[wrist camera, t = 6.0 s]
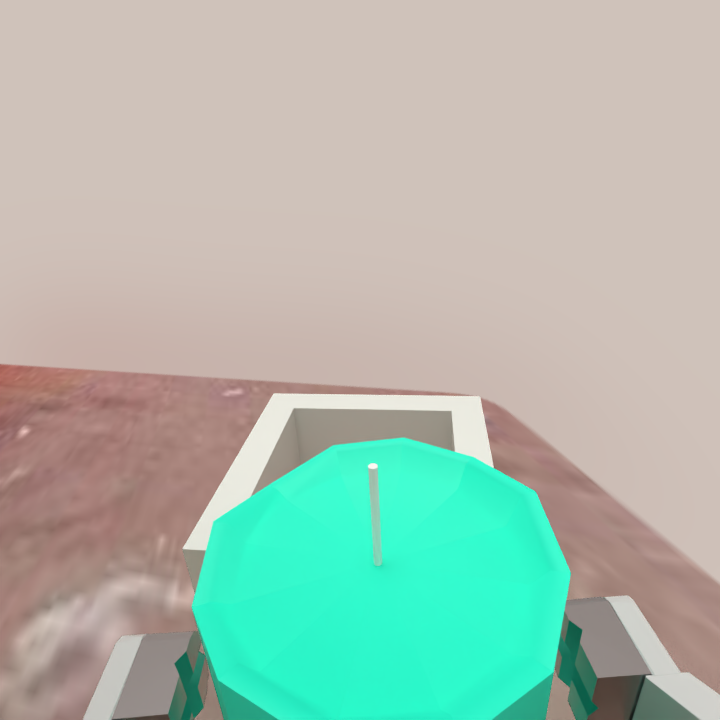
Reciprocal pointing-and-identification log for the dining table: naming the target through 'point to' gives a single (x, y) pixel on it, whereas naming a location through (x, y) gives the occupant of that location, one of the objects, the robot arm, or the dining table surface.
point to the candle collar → (335, 442)
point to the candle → (384, 591)
